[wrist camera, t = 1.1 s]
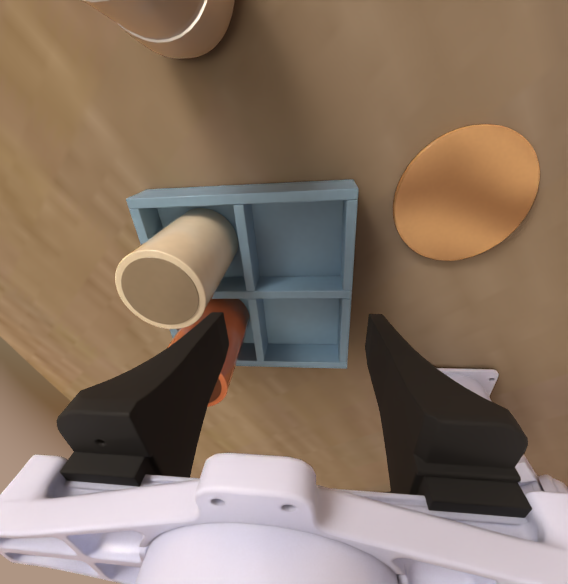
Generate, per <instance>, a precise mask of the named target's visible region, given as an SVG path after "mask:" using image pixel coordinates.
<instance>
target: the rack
mask: <svg viewBox="0 0 568 584" xmlns="http://www.w3.org/2000/svg"><path fill="white" fill-rule="evenodd" d="M358 191H359V189H358V187H357V185H356V183H355V182H354V180H353V179H350V180H329V181H309V182H289V183H268V184H248V185H227V186H207V187H187V188H166V189H147V190H145V191H143V192H140V193H138V194H136V195H134V196H131V197H129V198H127V199H126V201H127V204H128V207H129V210H130V213H131V216H132V219H133V222H134V225H135V228H136V231H137V234H138V237H139V240H140V243H141V245H142V244H143V243H144V242H146V241H147V240H148V239H150V238H151V237H152V236H154V235H155V234H156V233H158V232H159V231H160V230H162V229H163V228H164V227H166V226H167V225H168V224H170V223H171V222H172V221H174V220H175V219H176V218H178V217H179V216H180V215H182V214H183V213H185V212H186V211H188V210H191V209H194V208H206V209H210V210H213V211H215V212H218V213H219V214H221V215H222V216H224V217H225V218H226V219H227V220H228V221H229V222H230V223H231V225H232V226H233V228H234V230H235V232H236V234H237V238H238V251H237V254H236V256H235V258H234V260H233V262H232V264H231V265H230V267H229V269H228V271H227V272H226V274H225V276H224V278H223V279H222V281H221V283H220V285H219V286H218V288H217V290H216V292H215V294H214V295H213V297H212V299H239V300H241V301H242V302H243V303H244V305H245V306H246V307H247V309H248V312H249V315H250V322H249V326H248V329H247V332H246V335H245V338H244V341H243V344H242V348H241V351H240V354H239V357H238V360H237V363H236V366H263V367H305V368H347V360H348V345H349V330H350V314H351V297H352V283H353V268H354V252H355V237H356V221H357V206H358V200H357V199H358ZM178 330H179V329H170V332H171V335H172V337H173V338H174V336H175V335H176V333H177V332H178Z"/></svg>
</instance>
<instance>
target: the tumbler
mask: <svg viewBox="0 0 568 584" xmlns="http://www.w3.org/2000/svg"><path fill="white" fill-rule="evenodd" d="M211 312H223V313H224V318H225V323H226V329H227V334H228V339H229V347H228V351H227V355H226V359H225V362H224V365H223V368H222V370H221V373H220V375H219V378H218V380H217V383H216V385H215V388H214V390H213V393H212V395H211V398H210V400H209V403H208V406H207V407H209V406H213V405H215V404H218V403H219V402H221V401H222V400H223V399H224V397H225V396H226V394H227V391H228V388H229V385H230V382H231V379H232V375H233V372H234V369H235V366H236V363H237V360H238V357H239V354H240V351H241V348H242V344H243V341H244V338H245V335H246V332H247V329H248V326H249V322H250V315H249V312H248V309H247V307H246V306H245V305H244V303H243V302H242V301H241V300H239V299H211V301H210V302H209V304H208V306H207V308H206V309H205V311H204V313H203V315H202V316H201V317H200V319H199V320H198V321H196V322H195V323H194V324H192V325H190V326H188V327H184V328H180V329H179V330H178V332H177V333H176V335H175V336H174V338H173V339H172V341H171V342H170V344H169V346H168V347H170V346H171V345H172V344H174V343H175V342H176V341H178V340H179V339H180V338H181V337H183V336H184V335H185V334H186V333H188V332H189V331H190V330H191V329H192V328H194V327H195V326H196V325H197V324H198V323H199V322H201V321H202V320H203V319H204V318H205V317H206V316H208V315H209V314H210V313H211ZM168 347H167V348H168Z"/></svg>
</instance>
